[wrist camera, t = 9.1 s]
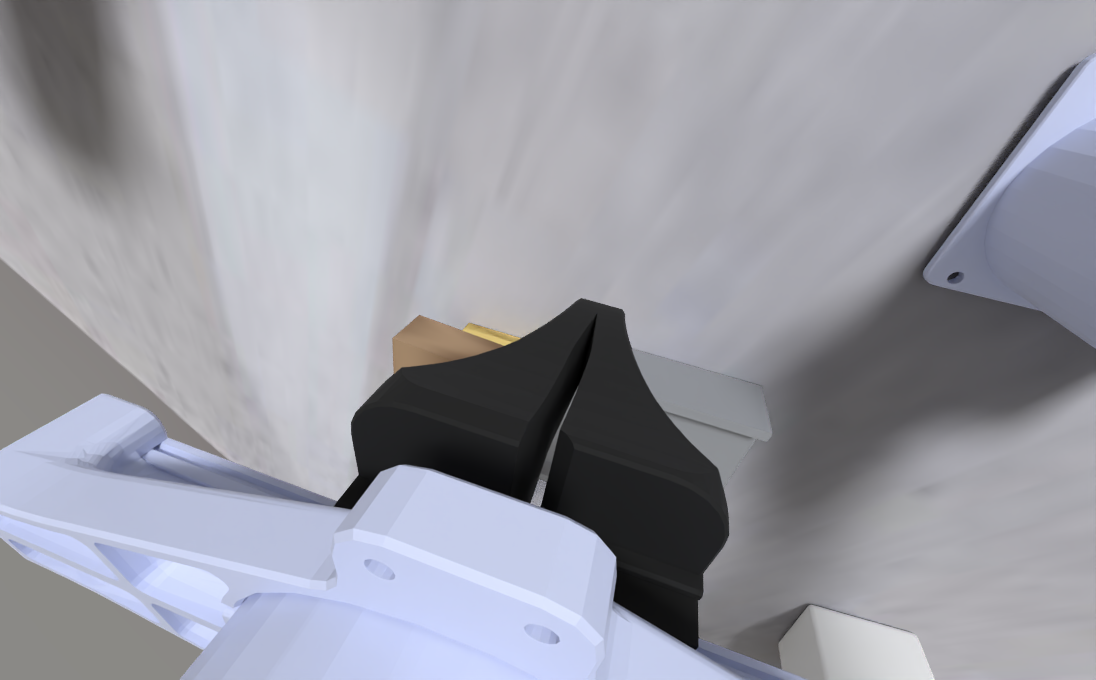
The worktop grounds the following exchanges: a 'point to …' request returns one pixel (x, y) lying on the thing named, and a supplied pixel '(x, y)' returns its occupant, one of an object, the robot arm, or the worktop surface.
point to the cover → (435, 344)
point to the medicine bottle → (850, 649)
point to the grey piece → (702, 411)
